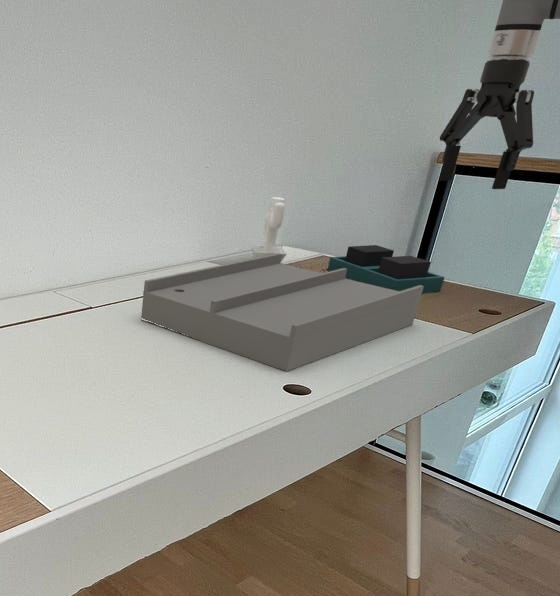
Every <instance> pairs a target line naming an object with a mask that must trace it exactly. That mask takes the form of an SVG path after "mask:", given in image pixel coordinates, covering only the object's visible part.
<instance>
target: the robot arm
mask: <svg viewBox="0 0 560 596" xmlns="http://www.w3.org/2000/svg"><path fill="white" fill-rule="evenodd" d="M545 20H560V0H502V3H501V6H500V10H499V14H498V17H497V20H496V25H495V27H494V31H493V35H492V39H491V43H490V45H489V50H488V52H487V57H488V58H489V60H487V61H486V62H485V63H484V65H483V69H482V72H481V76H480V79H479V81H480V82H479V83H480V84H481V85H480V88H479V89H478V88H467V89H466V90H465V91H464V94H463V97H462V100H461V102H460V103H459V105H458V106H457V108H456V110H455V111H454V113H453V114H452V116H451V118H450V119H449V121H448V123H447V124H446V126H445V127H444V129H443V130H442V132H441V134H440V135H439V141H440V142H441V141H442V142H444V143H445V149H444V152H443V155H442V159H441V160H442V161H441V162H442V166H441V171H440V174H439V177H438V181H440V182H447V181H448V182H449V181H452V180H453V175H454V173H455V169H456V165H457V162H458V158H459V154H460V151H461V147H462V145H461V141H462V140H463V139H464V138H465V137H466V136H467V134H469V132H470V131H471V130H472V129H473V128H474V127H475V126H476V125H477V124H478V123H479V121H480V120H482V119H483V118H485V117H487V118H488V117H489V118H497V120H498V121H499V122H500V126H501V129H502V132H503V136H504V139H505V142H506V146H507V148H506V149H505V150H504V151H503V152H502V155H501V158H500V162H499V164H498V168H497V171H496V174H495V176H494V181H493V183H492V187H491V189H492V190H505V189H506V188H507V185H508V182H509V178H510V175H511V172H512V171H514V170H515V169H516V166H517V163H518V160H519V157H520V154H521V152H522V151H524V150H527V149H532V148H533V146H534V129H533V105H532V104H533V101H534V96H535V91H534V90H533V89H522V90H520V88H521V86H522V84H524V83H525V81H526V77H527V74H528V70H529V68H530V65H531V63H530V61H529V60H528V59H529V58H532V56H534V52H535V49H536V47H537V43H538V40H539V36H540V33H541V30H542V27H543V26H542V25H543V23H544V21H545ZM515 103H516V105H514V104H515Z"/></svg>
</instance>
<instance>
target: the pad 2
mask: <svg viewBox="0 0 560 596" xmlns="http://www.w3.org/2000/svg"><path fill="white" fill-rule="evenodd" d="M431 263H432V261H429V260H426V259H422V258H419V257H417V256H413V255H400V256H398V255H397V256H392V257H382V259H381V263H380V267H379V271H378V273H380V274H383V275H386V276H389V277H392V278H394V279H397V280H398V279H411V278H425V277H426V276H427V273H428V272H429V269H430V266H431Z"/></svg>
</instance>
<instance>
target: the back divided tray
mask: <svg viewBox="0 0 560 596" xmlns="http://www.w3.org/2000/svg"><path fill="white" fill-rule="evenodd" d="M345 259H346V255H341V256H330V257H329V261H328V265H327V272H330V271H334V270H338V269H342V268H346V269H347V272H346V277H345V278H346V279H349V280H353V281H357V282H362V283H366V284H370V285H374V286H378V287H383V288H387V289H391V290H395V291H403V290H406V289H409V288H412V287H415V286H419V285H421V286H424V288H423V291H422V294H425V293H433V292H440V291H441V290H442V287H443V284H444V281H445V276H443V275H439V274H437V273H433V272H431V271H428V273H427V276H426V277H425V278H411V279H398V280H397V279H394V278H392V277H389V276H386V275H383V274H380V273H378V271H379V267H380V266H369V267H360V266H357V265H355V264H352V263H349V262H346V261H345Z"/></svg>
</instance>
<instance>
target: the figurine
mask: <svg viewBox="0 0 560 596" xmlns="http://www.w3.org/2000/svg"><path fill="white" fill-rule="evenodd" d="M269 202H270V203H269V204H268V205H269V206H268V212H267V214H266V216H265V219H264V224H263V225H264V227H263V235H264V241H263V245H261V246H260V245H259V246H258V245H250V248H251V252H252V256H253V258H258V257H263V256H268V255H273V254H278V253H279V254H282V256H281V262H280V263H281V264H282V262H283V260H284V259H285V257H286V256H287V252H286V251H285V250H284V249H283V248H282V247H281V246H276V243H277V237H278V233H279V229H280V228H281V227H282V224H283V220H284V215H285V209H286V205H285V198H283V197H279V196H271V197H270V201H269Z"/></svg>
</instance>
